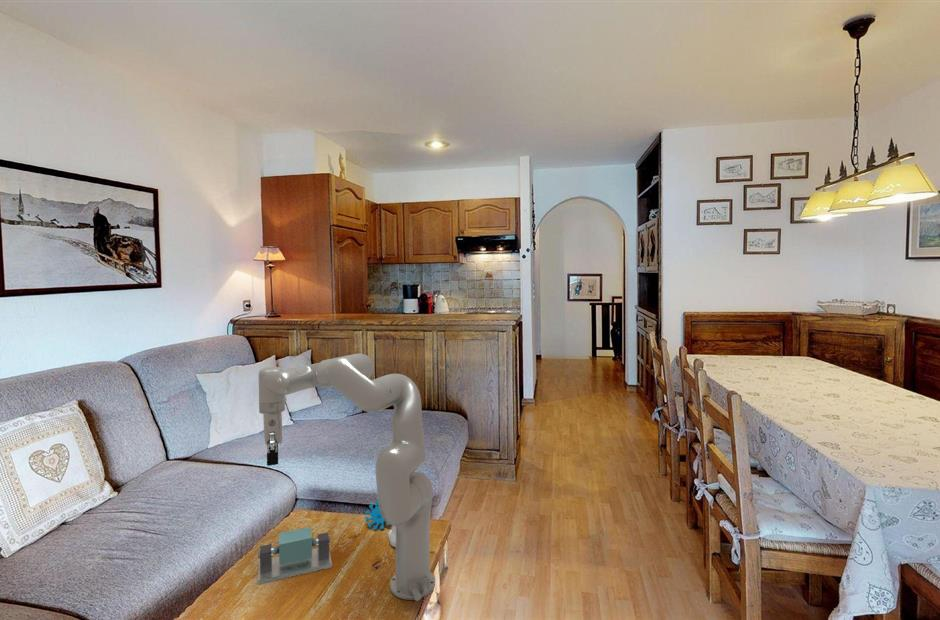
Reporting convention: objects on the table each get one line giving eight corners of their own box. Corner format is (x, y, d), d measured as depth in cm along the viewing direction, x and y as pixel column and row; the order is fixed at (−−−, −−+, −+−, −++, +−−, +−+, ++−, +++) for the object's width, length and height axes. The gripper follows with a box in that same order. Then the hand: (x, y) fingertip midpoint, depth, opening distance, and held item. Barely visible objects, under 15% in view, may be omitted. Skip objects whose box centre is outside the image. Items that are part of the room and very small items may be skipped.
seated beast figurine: (416, 535, 150) (416, 501, 150) (411, 551, 142) (411, 514, 141) (389, 534, 151) (389, 499, 150) (382, 549, 142) (381, 512, 142)
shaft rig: (332, 567, 133) (331, 543, 133) (258, 584, 125) (257, 559, 125) (328, 549, 142) (328, 527, 142) (259, 564, 134) (258, 541, 134)
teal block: (312, 558, 133) (312, 537, 132) (279, 565, 129) (279, 544, 128) (310, 546, 138) (310, 526, 137) (279, 553, 134) (278, 533, 134)
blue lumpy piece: (360, 525, 153) (370, 496, 160) (363, 530, 158) (372, 502, 164) (391, 532, 152) (400, 502, 158) (393, 537, 156) (401, 508, 163)
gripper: (285, 412, 135) (286, 467, 136) (284, 398, 151) (284, 448, 152) (258, 415, 132) (258, 471, 133) (259, 400, 148) (260, 451, 149)
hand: (272, 459), depth 142 cm, fingers open, 9 cm apart
